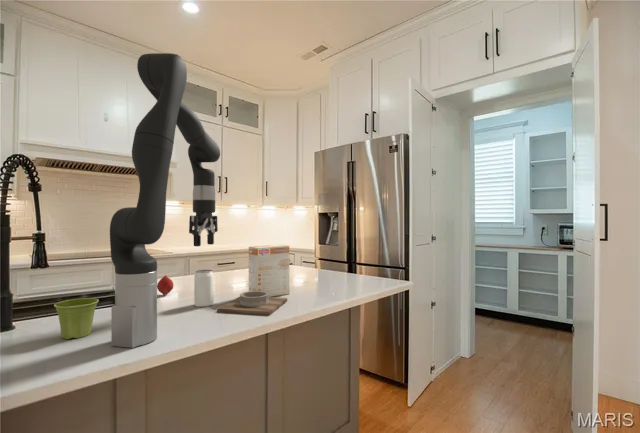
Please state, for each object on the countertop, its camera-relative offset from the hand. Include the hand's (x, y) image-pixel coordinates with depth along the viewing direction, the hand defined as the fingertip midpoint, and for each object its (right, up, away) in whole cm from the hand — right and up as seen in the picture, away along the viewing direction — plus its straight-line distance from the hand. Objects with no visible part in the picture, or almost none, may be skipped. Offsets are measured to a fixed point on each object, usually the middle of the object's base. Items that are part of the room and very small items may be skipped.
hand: (204, 245), depth 117 cm
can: (0, -21, 0) cm, 21 cm away
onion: (-20, -21, +15) cm, 33 cm away
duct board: (+18, -21, -2) cm, 28 cm away
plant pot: (-23, -21, -30) cm, 43 cm away
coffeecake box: (+21, -21, +15) cm, 33 cm away
